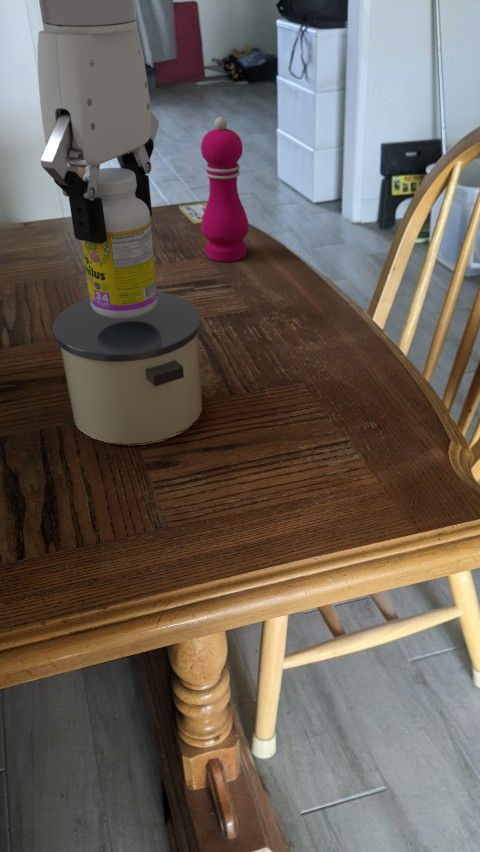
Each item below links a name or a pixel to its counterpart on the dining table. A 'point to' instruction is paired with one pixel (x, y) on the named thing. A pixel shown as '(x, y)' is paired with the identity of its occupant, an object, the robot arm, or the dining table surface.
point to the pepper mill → (223, 195)
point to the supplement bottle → (121, 251)
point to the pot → (132, 370)
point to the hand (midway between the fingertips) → (114, 226)
